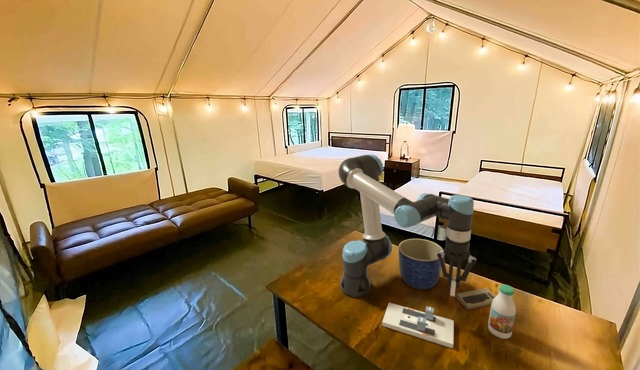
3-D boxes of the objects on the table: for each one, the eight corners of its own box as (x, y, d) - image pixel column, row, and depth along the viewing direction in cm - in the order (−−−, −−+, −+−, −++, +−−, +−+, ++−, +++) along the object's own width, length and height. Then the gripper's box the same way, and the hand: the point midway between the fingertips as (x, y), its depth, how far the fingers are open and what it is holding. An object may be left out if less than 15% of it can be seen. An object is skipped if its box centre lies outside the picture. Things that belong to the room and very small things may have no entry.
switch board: (382, 325, 107) (382, 321, 106) (388, 306, 117) (388, 301, 117) (452, 348, 96) (453, 343, 95) (453, 324, 106) (453, 320, 105)
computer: (467, 311, 113) (468, 304, 112) (455, 298, 120) (455, 292, 119) (499, 304, 115) (500, 298, 114) (485, 292, 123) (486, 286, 122)
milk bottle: (483, 324, 105) (489, 282, 99) (501, 322, 106) (508, 280, 100) (497, 340, 98) (505, 296, 92) (516, 338, 98) (525, 293, 92)
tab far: (425, 318, 106) (425, 309, 105) (425, 313, 109) (426, 305, 107) (432, 320, 105) (433, 311, 104) (433, 316, 107) (434, 307, 106)
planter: (439, 272, 138) (441, 240, 132) (442, 299, 119) (446, 263, 114) (398, 267, 145) (399, 236, 139) (396, 291, 126) (397, 257, 121)
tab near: (416, 329, 102) (417, 320, 100) (417, 324, 104) (418, 315, 103) (425, 331, 100) (425, 322, 99) (425, 326, 102) (426, 318, 101)
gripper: (437, 239, 92) (433, 295, 99) (479, 246, 87) (472, 305, 93) (438, 230, 99) (434, 283, 105) (478, 236, 93) (471, 292, 100)
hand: (452, 293), depth 99 cm, fingers closed
